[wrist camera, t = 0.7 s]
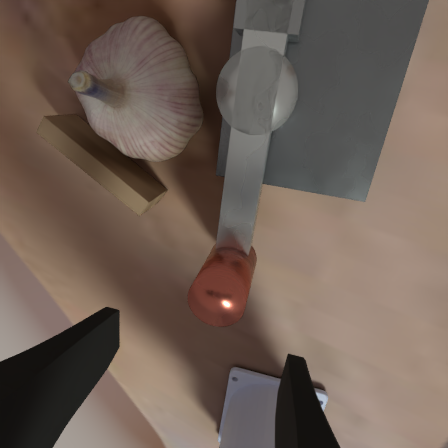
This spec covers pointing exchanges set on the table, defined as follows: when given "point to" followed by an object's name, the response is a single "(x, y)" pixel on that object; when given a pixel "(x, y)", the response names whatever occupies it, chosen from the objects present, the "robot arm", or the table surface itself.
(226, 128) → the base
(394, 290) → the table surface
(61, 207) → the table surface
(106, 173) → the bar
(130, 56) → the garlic bulb
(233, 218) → the lever
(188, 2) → the table surface
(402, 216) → the table surface
